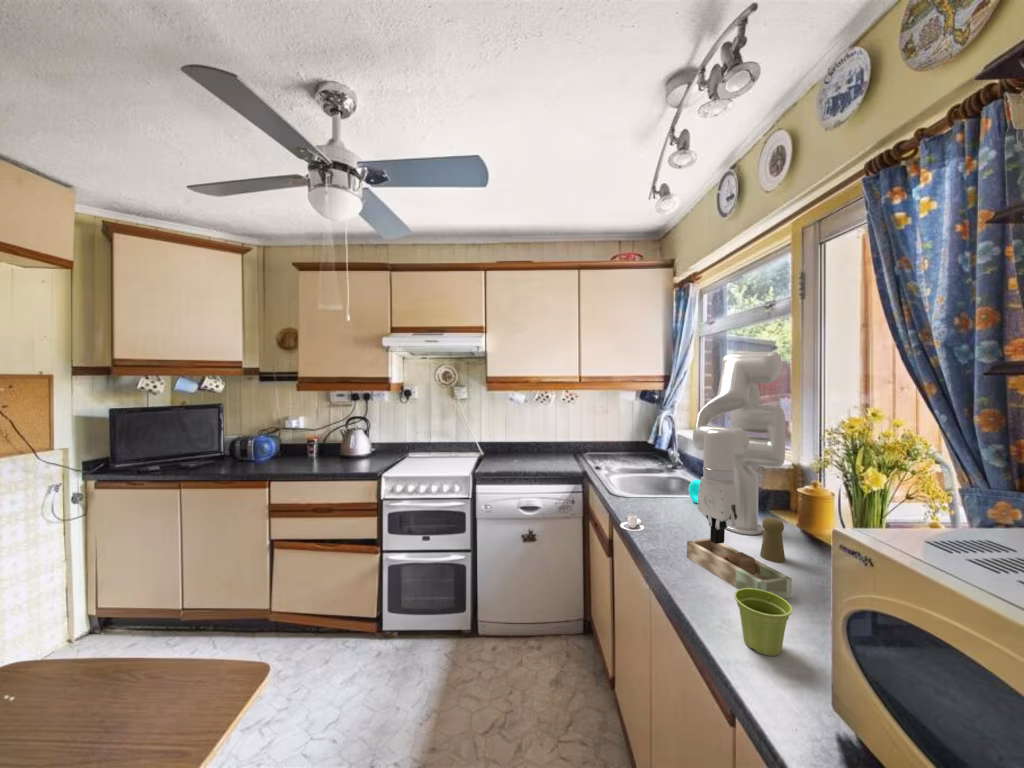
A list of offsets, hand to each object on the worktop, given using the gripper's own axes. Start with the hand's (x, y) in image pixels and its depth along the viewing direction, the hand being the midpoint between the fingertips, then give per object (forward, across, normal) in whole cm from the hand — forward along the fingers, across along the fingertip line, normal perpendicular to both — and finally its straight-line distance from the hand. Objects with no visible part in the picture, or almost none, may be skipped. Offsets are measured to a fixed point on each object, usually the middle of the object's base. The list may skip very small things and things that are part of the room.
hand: (717, 542), depth 107 cm
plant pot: (+8, +28, -16) cm, 33 cm away
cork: (+6, 0, +20) cm, 21 cm away
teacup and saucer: (+7, -30, -3) cm, 31 cm away
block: (+5, +7, +1) cm, 9 cm away
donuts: (+5, -45, +38) cm, 59 cm away
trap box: (+7, +5, +1) cm, 8 cm away
